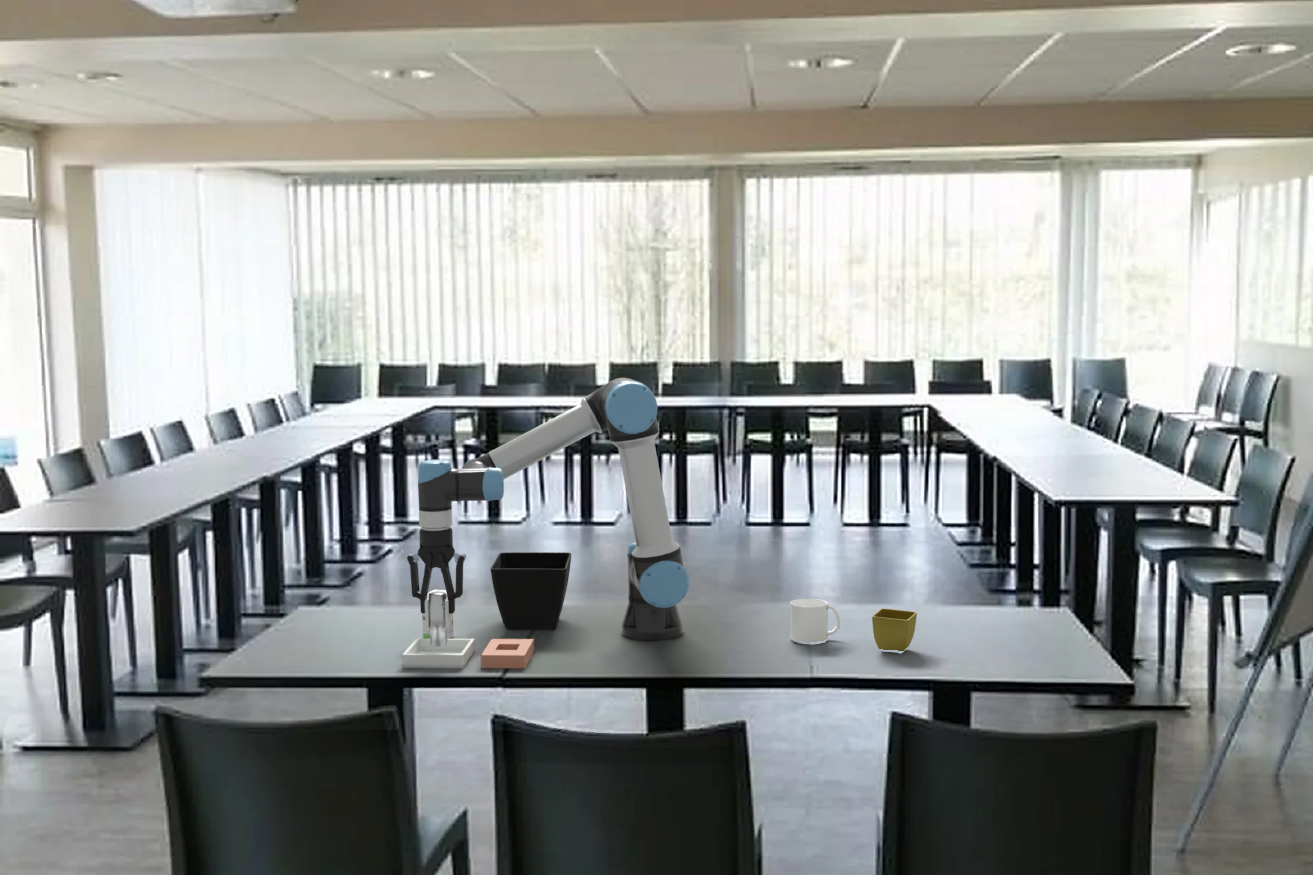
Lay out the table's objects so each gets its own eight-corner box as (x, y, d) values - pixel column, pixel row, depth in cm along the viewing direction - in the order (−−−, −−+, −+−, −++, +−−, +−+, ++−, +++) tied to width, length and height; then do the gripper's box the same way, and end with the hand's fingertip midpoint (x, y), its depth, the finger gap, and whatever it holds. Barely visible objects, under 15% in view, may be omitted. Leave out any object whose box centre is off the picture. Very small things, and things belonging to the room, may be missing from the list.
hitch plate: (534, 651, 319) (533, 639, 319) (524, 668, 305) (524, 655, 305) (492, 651, 320) (491, 638, 319) (481, 668, 306) (480, 655, 306)
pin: (449, 641, 314) (447, 591, 313) (445, 646, 310) (444, 595, 309) (432, 641, 315) (430, 591, 313) (428, 646, 311) (426, 595, 309)
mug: (790, 645, 323) (790, 607, 322) (790, 635, 332) (790, 598, 331) (840, 646, 322) (840, 607, 321) (839, 636, 331) (839, 599, 330)
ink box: (441, 645, 325) (440, 597, 324) (422, 644, 326) (420, 596, 325) (454, 636, 334) (453, 589, 332) (435, 635, 335) (434, 588, 333)
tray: (475, 651, 320) (474, 638, 319) (463, 668, 306) (462, 655, 305) (416, 651, 320) (416, 638, 320) (402, 668, 306) (402, 654, 306)
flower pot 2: (917, 648, 319) (917, 611, 318) (908, 658, 311) (908, 620, 310) (881, 644, 323) (881, 607, 321) (870, 654, 315) (871, 616, 314)
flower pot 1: (567, 633, 335) (566, 567, 333) (491, 634, 335) (489, 567, 334) (572, 614, 354) (571, 551, 352) (501, 615, 354) (499, 552, 352)
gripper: (475, 524, 313) (477, 623, 315) (403, 524, 314) (405, 622, 316) (469, 530, 305) (471, 631, 308) (395, 530, 306) (398, 630, 309)
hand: (438, 626), depth 312 cm, fingers closed on pin, 4 cm apart
